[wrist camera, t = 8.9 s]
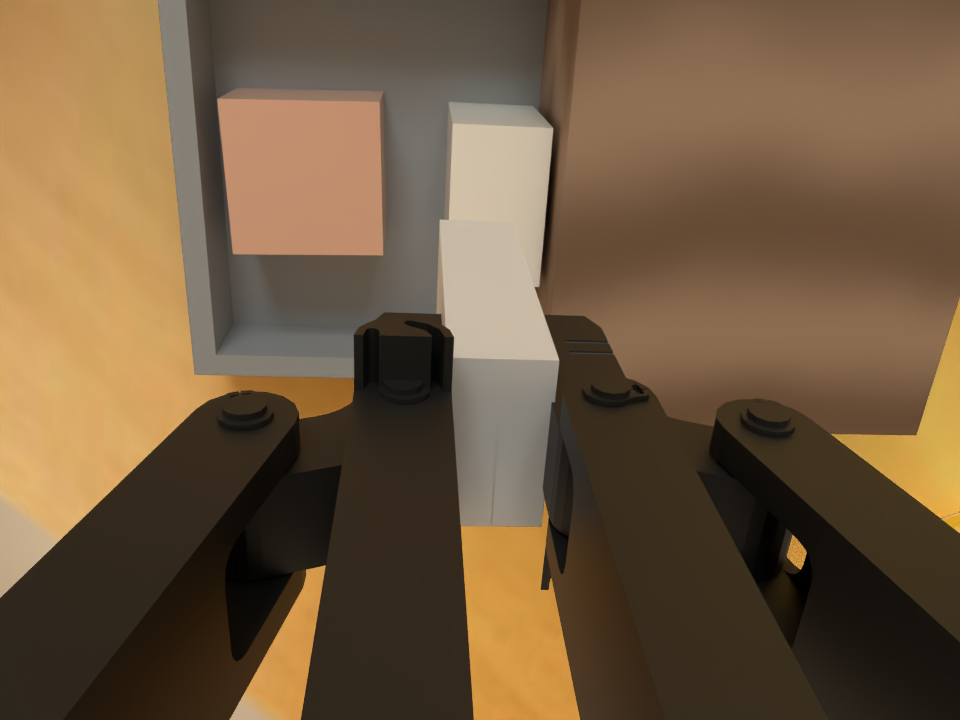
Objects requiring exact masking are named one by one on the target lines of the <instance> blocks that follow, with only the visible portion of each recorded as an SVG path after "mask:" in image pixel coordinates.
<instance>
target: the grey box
mask: <svg viewBox="0 0 960 720" xmlns="http://www.w3.org/2000/svg"><path fill="white" fill-rule="evenodd" d="M547 7H548V0H158V8H159V18H160V28H161V38H162V48H163V58H164V69H165V79H166V89H167V99H168V109H169V119H170V129H171V139H172V150H173V160H174V170H175V180H176V190H177V200H178V210H179V220H180V231H181V241H182V251H183V261H184V271H185V281H186V291H187V301H188V312H189V322H190V332H191V342H192V352H193V362H194V372H195V375H230V376H276V377H321V378H354V333H355V332H356V331H357V329H358V328H359V327H360V326H362V325H364V324H366V323H368V322H370V321H374V320H376V319H377V318H378V317H379V316H380V315H382V314H383V313H384V312H391V313H426V314H436V309H437V281H438V252H439V224H440V220H444V203H445V176H446V150H447V123H448V102H465V103H485V104H506V105H526V106H534V107H535V108H536V110H537V111H538V112H539V105H540V93H541V81H542V68H543V56H544V44H545V32H546V19H547ZM236 88H270V89H319V90H369V91H384V118H385V165H386V212H387V234H386V241H385V247H384V254H383V255H256V254H233V249H232V239H231V229H230V219H229V210H228V200H227V190H226V180H225V171H224V161H223V151H222V141H221V131H220V122H219V112H218V102H217V99H218V98H220V97H221V96H223V95H225V94H227V93H229V92H231V91H232V90H234V89H236Z"/></svg>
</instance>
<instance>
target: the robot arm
mask: <svg viewBox="0 0 960 720" xmlns="http://www.w3.org/2000/svg"><path fill="white" fill-rule="evenodd" d="M544 498H545V501H546V506H547V510H548V515H549V521H548V530H547V538H546V547H545V556H544V565H543V574H542V583H541V590H549V583H550V579H551V578H552V582H553V587H554V592H555V597H556V602H557V607H558V611H559V616H560V621H561V626H562V631H563V636H564V641H565V646H566V651H567V656H568V661H569V666H570V671H571V676H572V681H573V686H574V691H575V696H576V701H577V705H578V710H579V715H580V720H960V533H959V532H958V531H956V530H955V529H954V528H952V527H951V526H950V525H948V524H947V523H946V522H944V521H943V520H942V519H941V518H939V517H938V516H937V515H935V514H934V513H933V512H931V511H930V510H929V509H927V508H926V507H925V506H924V505H922V504H921V503H920V502H918V501H917V500H916V499H914V498H913V497H912V496H910V495H909V494H908V493H907V492H905V491H904V490H903V489H901V488H900V487H899V486H897V485H896V484H895V483H893V482H892V481H891V480H890V479H888V478H887V477H886V476H884V475H883V474H882V473H880V472H879V471H878V470H876V469H875V468H874V467H873V466H871V465H870V464H869V463H867V462H866V461H865V460H863V459H862V458H861V457H859V456H858V455H857V454H856V453H854V452H853V451H852V450H850V449H849V448H848V447H846V446H845V445H844V444H842V443H841V442H840V441H839V440H837V439H836V438H835V437H833V436H832V435H831V434H829V433H828V432H827V431H825V430H824V429H823V428H822V427H820V426H819V425H818V424H816V423H815V422H814V421H812V420H811V419H810V418H808V417H807V416H805V415H803V414H802V413H800V412H798V411H796V410H795V409H792V408H789V407H787V406H784V405H781V404H780V403H779V402H776V401H772V400H767V401H765V399H758V398H754V399H738V400H734V401H730V402H726V403H724V404H723V405H722V406H721V407H719V408H718V409H717V413H716V418H715V423H714V426H709V425H704V424H698V423H693V422H688V421H683V420H679V419H675V418H671V417H668V416H667V415H666V413H665V411H664V409H663V408H662V406H661V404H660V402H659V400H658V398H657V396H656V395H655V394H654V393H653V392H652V391H651V390H650V389H649V388H648V387H646V386H644V385H643V384H641V383H639V382H637V381H635V380H631V379H628V378H626V377H625V375H624V373H623V371H622V369H621V367H620V365H619V363H618V361H617V359H616V357H615V355H613V350H612V348H611V346H610V344H608V340H607V338H606V336H605V334H604V332H603V330H602V328H601V327H600V326H598V325H597V324H595V323H594V322H592V321H591V320H590V319H588V318H587V317H585V316H571V315H544V314H543V311H542V308H541V305H540V302H539V299H538V296H537V293H536V290H535V287H534V284H533V281H532V278H531V275H530V273H529V270H528V267H527V264H526V261H525V258H524V255H523V252H522V249H521V246H520V243H519V240H518V237H517V234H516V231H515V228H514V225H513V222H490V221H464V220H440V224H439V252H438V281H437V309H436V314H426V313H391V312H384V313H383V314H382V315H380V316H379V317H378V318H377V319H376V320H374V321H370V322H368V323H366V324H364V325H362V326H360V327H359V328H358V329H357V331H356V332H355V333H354V395H353V401H352V403H351V404H349V405H348V406H346V407H344V408H342V409H340V410H338V411H335V412H332V413H330V414H325V415H321V416H316V417H310V418H304V419H299V412H298V410H297V408H296V406H295V404H294V403H293V402H291V401H290V400H288V399H287V398H285V397H283V396H280V395H276V394H272V393H268V392H255V391H251V390H249V391H241V392H240V393H239V392H238V391H237V392H232V393H228V394H226V395H224V396H221V397H218V398H215V399H212V400H209V401H208V402H206V403H205V404H203V405H202V406H200V407H198V408H197V409H196V410H195V411H194V412H193V413H192V414H191V415H190V416H189V417H188V418H186V419H185V420H184V421H183V422H182V423H181V424H180V425H179V426H178V427H177V428H176V429H175V430H174V431H173V432H172V433H171V434H170V435H169V436H168V437H167V438H166V439H165V440H164V441H163V442H162V443H161V444H160V445H158V446H157V447H156V448H155V449H154V450H153V451H152V452H151V453H150V454H149V455H148V456H147V457H146V458H145V459H144V460H143V461H142V462H141V463H140V464H139V465H138V466H137V467H136V468H135V469H134V470H133V471H132V472H130V473H129V474H128V475H127V476H126V477H125V478H124V479H123V480H122V481H121V482H120V483H119V484H118V485H117V486H116V487H115V488H114V489H113V490H112V491H111V492H110V493H109V494H108V495H107V496H106V497H105V498H104V499H102V500H101V501H100V502H99V503H98V504H97V505H96V506H95V507H94V508H93V509H92V510H91V511H90V512H89V513H88V514H87V515H86V516H85V517H84V518H83V519H82V520H81V521H80V522H79V523H78V524H77V525H76V526H74V527H73V528H72V529H71V530H70V531H69V532H68V533H67V534H66V535H65V536H64V537H63V538H62V539H61V540H60V541H59V542H58V543H57V544H56V545H55V546H54V547H53V548H52V549H51V550H50V551H49V552H48V553H47V554H46V555H44V556H43V557H42V558H41V559H40V560H39V561H38V562H37V563H36V564H35V565H34V566H33V567H32V568H31V569H30V570H29V571H28V572H27V573H26V574H25V575H24V576H23V577H22V578H21V579H20V580H19V581H18V582H16V583H15V584H14V585H13V586H12V587H11V588H10V589H9V590H8V591H7V592H6V593H5V594H4V595H3V596H2V597H1V598H0V720H229V719H230V718H231V716H232V714H233V712H234V710H235V709H236V707H237V705H238V703H239V701H240V700H241V698H242V696H243V694H244V692H245V691H246V689H247V687H248V685H249V684H250V682H251V680H252V678H253V676H254V675H255V673H256V671H257V669H258V667H259V666H260V664H261V662H262V660H263V658H264V657H265V655H266V653H267V651H268V649H269V648H270V646H271V644H272V642H273V640H274V639H275V637H276V635H277V633H278V631H279V630H280V628H281V626H282V624H283V622H284V621H285V619H286V617H287V615H288V613H289V612H290V610H291V608H292V606H293V604H294V603H295V601H296V599H297V597H298V596H299V594H300V592H301V590H302V588H303V585H304V582H305V578H306V569H310V568H315V567H319V566H324V565H326V568H325V574H324V580H323V586H322V593H321V599H320V605H319V611H318V617H317V623H316V630H315V636H314V642H313V648H312V654H311V660H310V667H309V673H308V679H307V685H306V691H305V697H304V704H303V710H302V716H301V720H474V718H473V703H472V688H471V673H470V658H469V643H468V629H467V614H466V599H465V584H464V569H463V554H462V539H461V526H523V527H541V526H542V517H543V508H544ZM792 535H794V536H795V537H796V538H797V539H798V540H799V541H800V543H801V544H802V545H803V547H804V548H805V549H806V552H807V554H806V558H805V561H804V565H803V567H802V569H801V570H800V569H799V568H797V567H796V566H795V565H794V564H793V563H792V562H791V561H790V560H789V559H788V558H787V553H788V549H789V546H790V542H791V538H792Z"/></svg>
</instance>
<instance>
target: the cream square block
mask: <svg viewBox="0 0 960 720" xmlns="http://www.w3.org/2000/svg"><path fill="white" fill-rule="evenodd" d="M552 138H553V127H552V126H551V125H550V124H549V123H548V122H547V121H546V119H545V118H544V117H543V116H542V115H541V114H540V113H539V112H538V111H537V110H536V108H535V107H534V106H526V105H506V104H485V103H465V102H448V123H447V150H446V176H445V203H444V220H464V221H490V222H513V225H514V228H515V231H516V234H517V237H518V240H519V243H520V246H521V249H522V252H523V255H524V258H525V261H526V264H527V267H528V270H529V273H530V275H531V278H532V281H533V284H534V287H539V283H540V272H541V261H542V250H543V239H544V227H545V216H546V205H547V194H548V183H549V172H550V161H551V149H552Z"/></svg>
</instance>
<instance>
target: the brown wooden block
mask: <svg viewBox="0 0 960 720" xmlns="http://www.w3.org/2000/svg"><path fill="white" fill-rule="evenodd" d="M539 113H540V114H541V115H542V116H543V117H544V118H545V119H546V121H547V122H548V123H549V124H550V125H551V126H552V127H553V138H552V149H551V161H550V172H549V183H548V194H547V205H546V216H545V227H544V239H543V250H542V261H541V272H540V283H539V287H535V290H536V293H537V296H538V299H539V302H540V305H541V308H542V311H543V314H544V315H571V316H585V317H587V318H588V319H590V320H591V321H592V322H594V323H595V324H597V325H598V326H600V327H601V328H602V330H603V332H604V334H605V336H606V338H607V340H608V344H610V346H611V348H612V350H613V355H615V357H616V359H617V361H618V363H619V365H620V367H621V369H622V371H623V373H624V375H625V377H626V378H628V379H631V380H635V381H637V382H639V383H641V384H643V385H644V386H646V387H648V388H649V389H650V390H651V391H652V392H653V393H654V394H655V395H656V396H657V398H658V400H659V402H660V404H661V406H662V408H663V409H664V411H665V413H666V415H667V416H668V417H671V418H675V419H679V420H683V421H688V422H693V423H698V424H704V425H709V426H714V423H715V418H716V413H717V409H718V408H719V407H721V406H722V405H723V404H724V403H726V402H730V401H734V400H738V399H754V398H758V399H765V401H767V400H772V401H776V402H779V403H780V404H781V405H784V406H787V407H789V408H792V409H795V410H796V411H798V412H800V413H802V414H803V415H805V416H807V417H808V418H810V419H811V420H812V421H814V422H815V423H816V424H818V425H819V426H820V427H822V428H823V429H824V430H825V431H827V432H828V433H829V434H870V435H916V434H917V431H918V428H919V425H920V421H921V418H922V415H923V412H924V409H925V406H926V402H927V399H928V396H929V393H930V390H931V386H932V383H933V380H934V377H935V374H936V371H937V367H938V364H939V361H940V358H941V355H942V351H943V348H944V345H945V342H946V339H947V335H948V332H949V329H950V326H951V323H952V320H953V316H954V313H955V310H956V307H957V304H958V300H959V297H960V0H548V7H547V19H546V32H545V44H544V56H543V68H542V81H541V93H540V105H539Z"/></svg>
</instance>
